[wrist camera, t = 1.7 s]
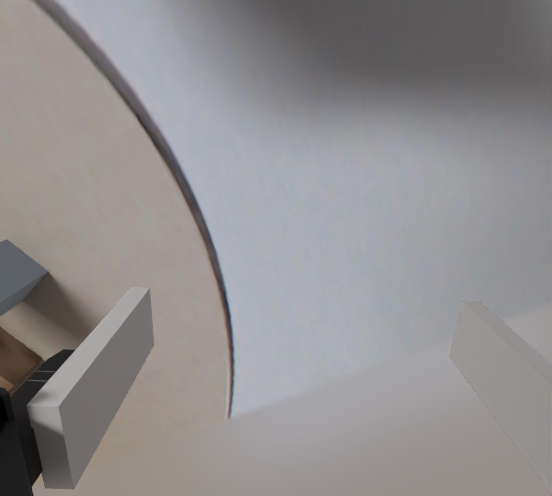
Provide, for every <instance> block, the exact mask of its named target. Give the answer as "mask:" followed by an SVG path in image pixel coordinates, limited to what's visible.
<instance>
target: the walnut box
mask: <svg viewBox="0 0 552 496" xmlns="http://www.w3.org/2000/svg"><path fill="white" fill-rule="evenodd" d="M41 359H42V358H41V357H40V356H38V355H37V354H36V353H34V352H33V351H32V350H30V349H29V348H28V347H26V346H25V345H24V344H22V343H21V342H20V341H18V340H17V339H16V338H14V337H13V336H12V335H10V334H9V333H8V332H6V331H5V330H4V329H2V328H1V327H0V387H2V388H5V389H6V390H7V391H9V390H10V389H11V388H12V387H13V386H14V385H15V384H16V383H17V382H18V381H19V380H20V379H22V378H23V377H24V376H25V375H26V374H27V373H28V372H29V371H30V370H31V369H32V368H33V367H34V366H35V365H36V364H37V363H38V362H39V361H40V360H41Z"/></svg>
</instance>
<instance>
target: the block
mask: <svg viewBox="0 0 552 496" xmlns="http://www.w3.org/2000/svg"><path fill="white" fill-rule="evenodd" d="M47 272H48V271H47V270H45V269H44V268H43V267H42V266H40V265H39V264H38V263H36V262H35V261H34V260H33V259H31V258H30V257H29V256H27V255H26V254H25V253H24V252H22V251H21V250H20V249H18V248H17V247H16V246H15V245H13V244H12V243H11V242H9V241H8V240H4V241H2V242H0V316H1V315H3V314H4V313H6V312H7V311H9V310H10V309H12V308H13V307H14V306H16V305H17V304H19V303H20V302H22V301H23V300H24V298H25V297H26V296H27V295H28V294H29V293H30V292H31V290H32V289H33V288H34V287H35V286H36V285H37V284H38V282H39V281H40V280H41V279H42V278H43V277H44V276H45V274H46V273H47Z"/></svg>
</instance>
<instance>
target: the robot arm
mask: <svg viewBox="0 0 552 496" xmlns="http://www.w3.org/2000/svg"><path fill="white" fill-rule="evenodd" d="M153 346H154V337H153V324H152V311H151V297H150V288H136V287H131V288H130V289H129V290H128V292H127V293H126V294H125V295H124V296H123V297H122V298H121V299H120V301H119V302H118V303H117V304H116V305H115V306H114V307H113V308H112V310H111V311H110V312H109V313H108V314H107V315H106V316H105V317H104V319H103V320H102V321H101V322H100V323H99V324H98V325H97V326H96V328H95V329H94V330H93V331H92V332H91V333H90V334H89V335H88V337H87V338H86V339H85V340H84V341H83V342H82V343H81V344H80V346H79V347H78V348H77V349H76V350H65V349H64V350H62V351H60V352H59V353H57V354H55V355H54V356H52V357H50V358H49V359H48V360H47V361H46V362H45V363H44V364H43V365H42V366H41V367H40V368H39V369H38V371H37V372H35V373H34V374H33V375H32V376H31V377H30V378H29V380H28V381H26V382H25V383H24V384H23V385H22V386H21V387H20V388H19V389H18V390H17V391H16V392H15V394H14V395H13V396H12V397H11V398H10V396H9V393H8V391H7V390H6V389H5V388H2V387H0V496H33V492H32V486H33V484H34V483H35V481H36V480H37V478H38V477H39V475H40V474H41V472H42V477H43V481H44V486H45V488H55V489H74V488H75V487H76V485H77V483H78V481H79V479H80V477H81V476H82V474H83V472H84V470H85V468H86V467H87V465H88V463H89V461H90V459H91V458H92V456H93V454H94V452H95V450H96V449H97V447H98V445H99V443H100V441H101V440H102V438H103V436H104V434H105V432H106V431H107V429H108V427H109V425H110V423H111V422H112V420H113V418H114V416H115V414H116V413H117V411H118V409H119V407H120V405H121V404H122V402H123V400H124V398H125V396H126V395H127V393H128V391H129V389H130V387H131V386H132V384H133V382H134V380H135V378H136V376H137V375H138V373H139V371H140V369H141V367H142V366H143V364H144V362H145V360H146V358H147V357H148V355H149V353H150V351H151V349H152V348H153ZM449 357H450V358H451V360H452V361H453V362H454V364H455V365H456V366H457V368H458V369H459V370H460V372H461V373H462V375H463V376H464V377H465V379H467V381H468V383H469V384H470V385H471V387H472V388H473V389H474V391H475V392H476V393H477V395H478V396H479V397H480V399H481V400H482V401H483V403H484V404H485V406H486V407H487V408H488V409H489V411H490V412H491V414H492V415H493V416H494V418H495V419H496V420H497V422H498V423H499V424H500V426H501V427H502V429H503V430H504V431H505V432H506V434H507V435H508V437H509V438H510V439H511V441H512V442H513V443H514V445H515V446H516V447H517V449H518V450H519V451H520V453H521V454H522V455H523V457H524V458H525V460H526V461H527V462H528V464H529V465H530V466H531V468H532V469H533V470H534V472H535V473H536V474H537V476H538V477H539V478H540V480H541V481H542V482H543V484H544V485H545V486H546V488H547V489H548V491H549V492H550V493H551V495H552V364H551V363H550V362H548V361H547V360H546V359H545V358H544V357H543V356H542V355H541V354H539V353H538V352H537V351H536V350H535V349H534V348H532V347H531V346H530V345H529V344H528V343H527V342H526V341H524V340H523V339H522V338H521V337H520V336H519V335H517V334H516V333H515V332H514V331H513V330H512V329H510V327H508V326H507V325H506V324H505V323H504V322H503V321H502V320H500V319H499V318H498V317H497V316H496V315H495V314H494V313H492V312H491V311H490V310H489V309H488V308H487V307H486V306H484V305H483V304H482V303H481V302H465V301H463V302H462V306H461V310H460V314H459V318H458V323H457V327H456V331H455V335H454V339H453V343H452V348H451V352H450V356H449Z"/></svg>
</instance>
